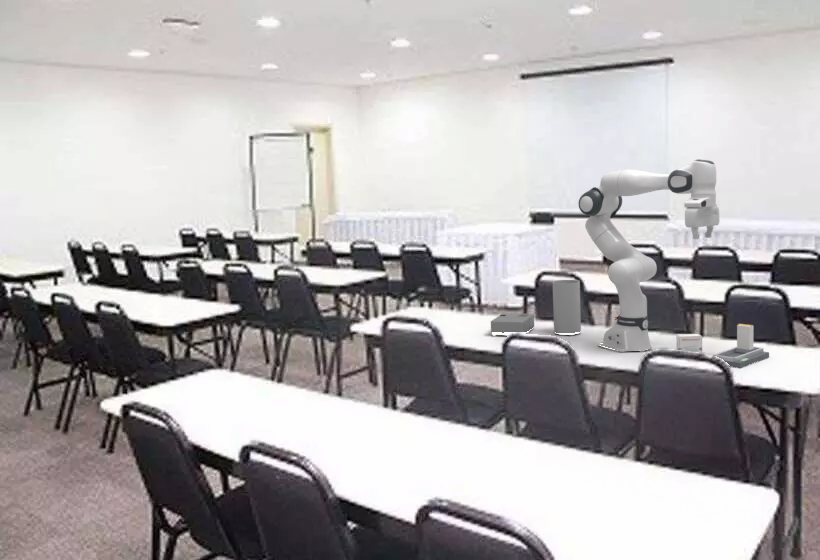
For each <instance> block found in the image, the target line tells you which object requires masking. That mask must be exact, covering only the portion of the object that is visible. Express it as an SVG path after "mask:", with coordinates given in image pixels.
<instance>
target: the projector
mask: <svg viewBox="0 0 820 560" xmlns="http://www.w3.org/2000/svg"><path fill="white" fill-rule="evenodd" d="M533 327H534V328H535V314H533V313H513V312H512V313H509V312H508V313H506V312H504V313H501V314H500V315H498V316H496V317H495V318H494V319H492V320H490V333H491V332H502V333H504V332H527V331H529V330H530V329H532V328H533Z"/></svg>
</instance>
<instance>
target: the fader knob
mask: <svg viewBox="0 0 820 560" xmlns="http://www.w3.org/2000/svg"><path fill="white" fill-rule="evenodd" d="M736 330H737V331H736V333H737V334H736V346H735V347H736V348H735V352H740V353H748V352H751V351H754V350H755V348H753V347H754V325H753V324H744V323H738V324H736Z"/></svg>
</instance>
